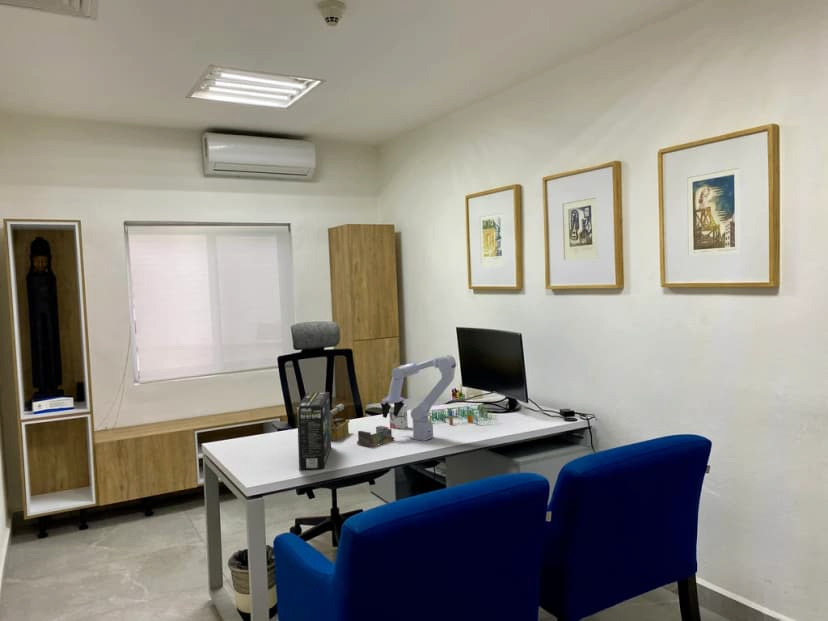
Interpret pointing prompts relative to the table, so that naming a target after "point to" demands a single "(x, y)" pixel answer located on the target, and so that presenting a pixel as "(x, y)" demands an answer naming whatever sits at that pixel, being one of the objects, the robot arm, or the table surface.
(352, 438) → the table surface
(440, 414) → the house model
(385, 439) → the stone ruin model
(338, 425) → the geiger counter
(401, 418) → the ink box
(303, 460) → the router box
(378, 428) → the gauge slider
